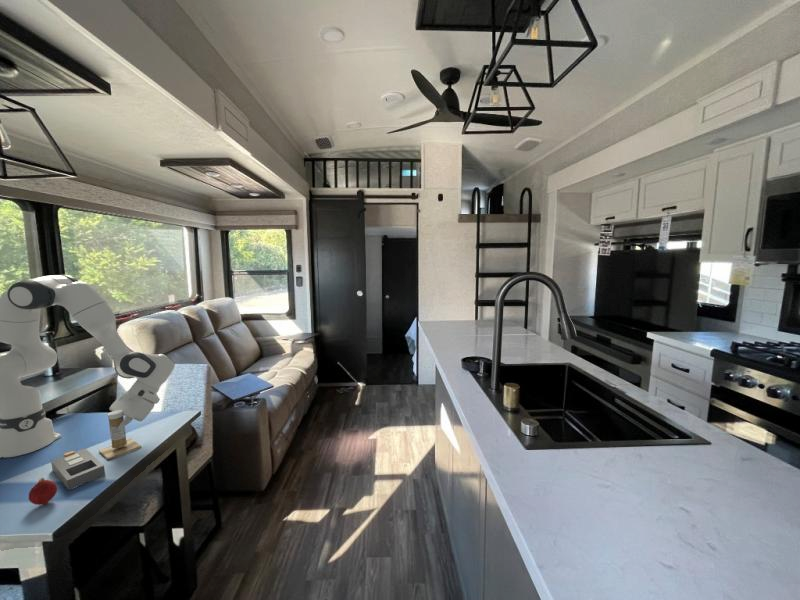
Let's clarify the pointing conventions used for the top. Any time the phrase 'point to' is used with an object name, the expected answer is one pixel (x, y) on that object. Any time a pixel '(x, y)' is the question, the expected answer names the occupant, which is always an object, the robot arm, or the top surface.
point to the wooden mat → (119, 450)
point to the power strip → (77, 468)
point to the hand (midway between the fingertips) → (115, 427)
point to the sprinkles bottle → (116, 434)
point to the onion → (42, 492)
